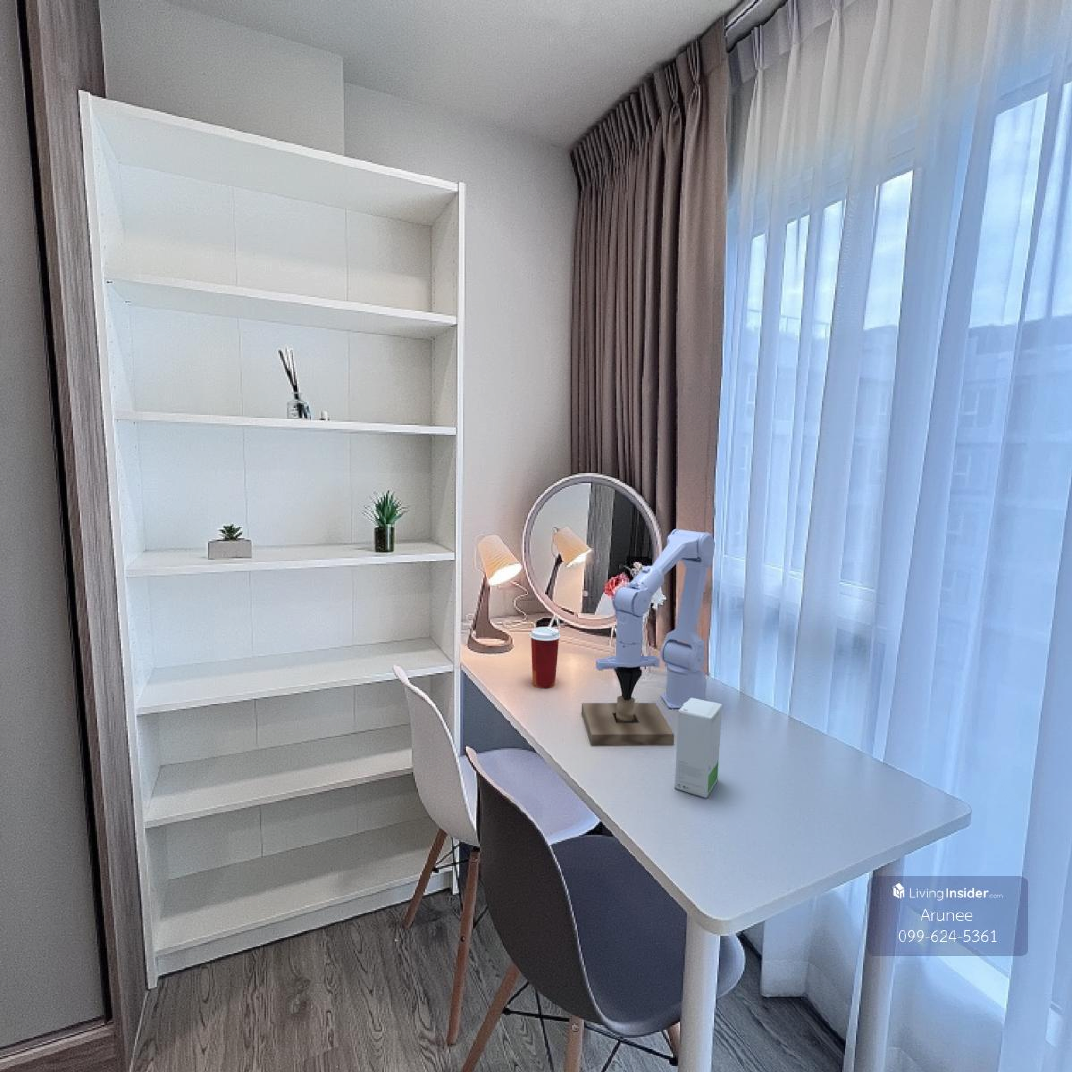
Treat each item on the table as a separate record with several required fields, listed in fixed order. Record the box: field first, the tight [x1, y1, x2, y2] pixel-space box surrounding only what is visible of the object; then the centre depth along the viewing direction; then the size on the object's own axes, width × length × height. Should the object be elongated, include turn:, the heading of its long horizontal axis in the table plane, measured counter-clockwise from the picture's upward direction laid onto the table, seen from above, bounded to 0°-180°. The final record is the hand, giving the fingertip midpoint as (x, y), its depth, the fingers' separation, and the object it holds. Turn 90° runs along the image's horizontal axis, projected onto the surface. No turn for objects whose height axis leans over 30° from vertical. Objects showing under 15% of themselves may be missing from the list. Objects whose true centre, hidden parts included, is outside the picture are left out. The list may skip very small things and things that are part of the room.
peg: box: [616, 695, 636, 723], centre depth 136 cm, size 4×4×7 cm
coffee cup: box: [529, 626, 561, 689], centre depth 160 cm, size 8×8×15 cm
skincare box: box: [674, 698, 723, 799], centre depth 113 cm, size 8×7×16 cm
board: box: [581, 702, 675, 747], centre depth 136 cm, size 18×16×2 cm
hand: (626, 697), depth 135 cm, fingers closed
